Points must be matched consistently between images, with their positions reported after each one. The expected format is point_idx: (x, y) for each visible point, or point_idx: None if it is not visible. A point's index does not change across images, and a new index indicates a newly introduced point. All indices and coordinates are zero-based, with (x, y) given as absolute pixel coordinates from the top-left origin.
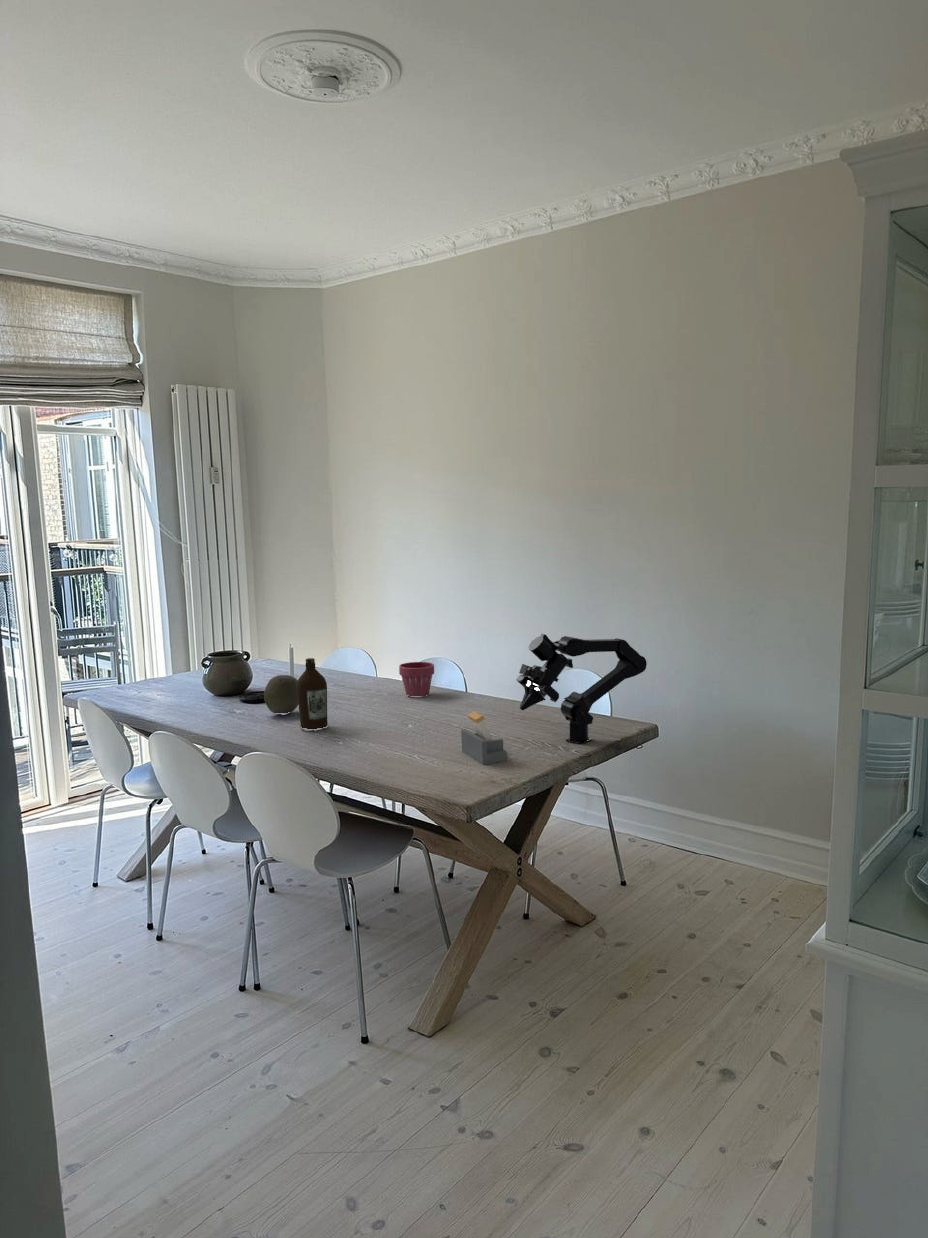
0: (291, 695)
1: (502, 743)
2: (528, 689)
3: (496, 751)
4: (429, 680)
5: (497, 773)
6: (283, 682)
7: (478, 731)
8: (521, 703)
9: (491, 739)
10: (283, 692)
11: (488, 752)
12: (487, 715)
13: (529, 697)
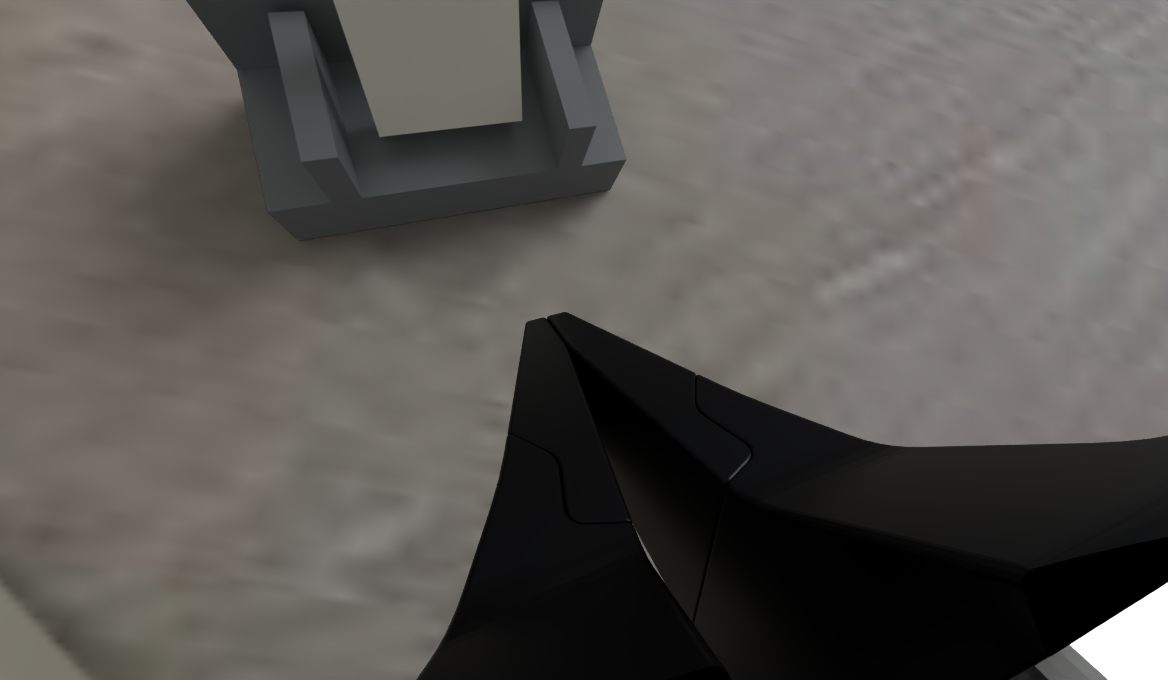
0: None
1: (314, 175)
2: (864, 594)
3: (285, 144)
4: None
5: (23, 119)
6: None
7: None
8: (598, 336)
9: (365, 92)
10: None
11: (278, 89)
12: (1139, 331)
13: (491, 513)
